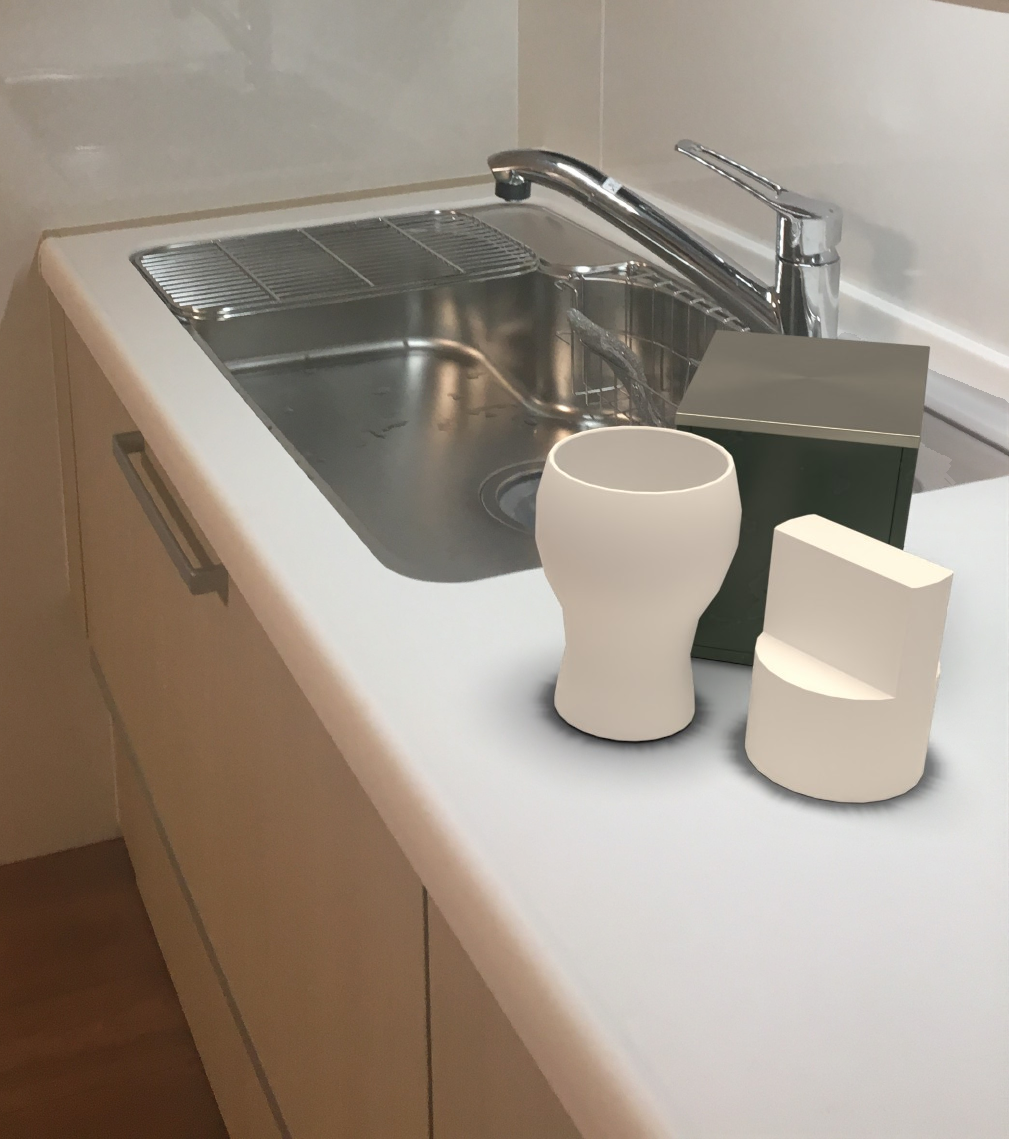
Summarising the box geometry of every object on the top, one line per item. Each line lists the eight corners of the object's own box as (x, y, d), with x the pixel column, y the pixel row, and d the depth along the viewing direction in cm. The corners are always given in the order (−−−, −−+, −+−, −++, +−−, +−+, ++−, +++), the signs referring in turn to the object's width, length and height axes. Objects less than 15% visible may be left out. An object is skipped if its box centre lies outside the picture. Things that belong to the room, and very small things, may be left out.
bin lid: (919, 449, 81) (921, 436, 81) (674, 425, 86) (675, 413, 85) (928, 356, 94) (930, 345, 94) (715, 340, 99) (716, 329, 98)
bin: (882, 685, 89) (919, 442, 82) (658, 651, 93) (677, 419, 86) (895, 576, 101) (928, 357, 94) (696, 551, 105) (715, 340, 99)
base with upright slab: (961, 765, 81) (998, 557, 76) (843, 823, 77) (874, 607, 72) (823, 693, 88) (849, 498, 83) (708, 743, 84) (728, 541, 79)
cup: (569, 644, 94) (580, 410, 88) (744, 685, 89) (770, 440, 82) (498, 727, 86) (504, 476, 79) (686, 776, 81) (710, 513, 74)
